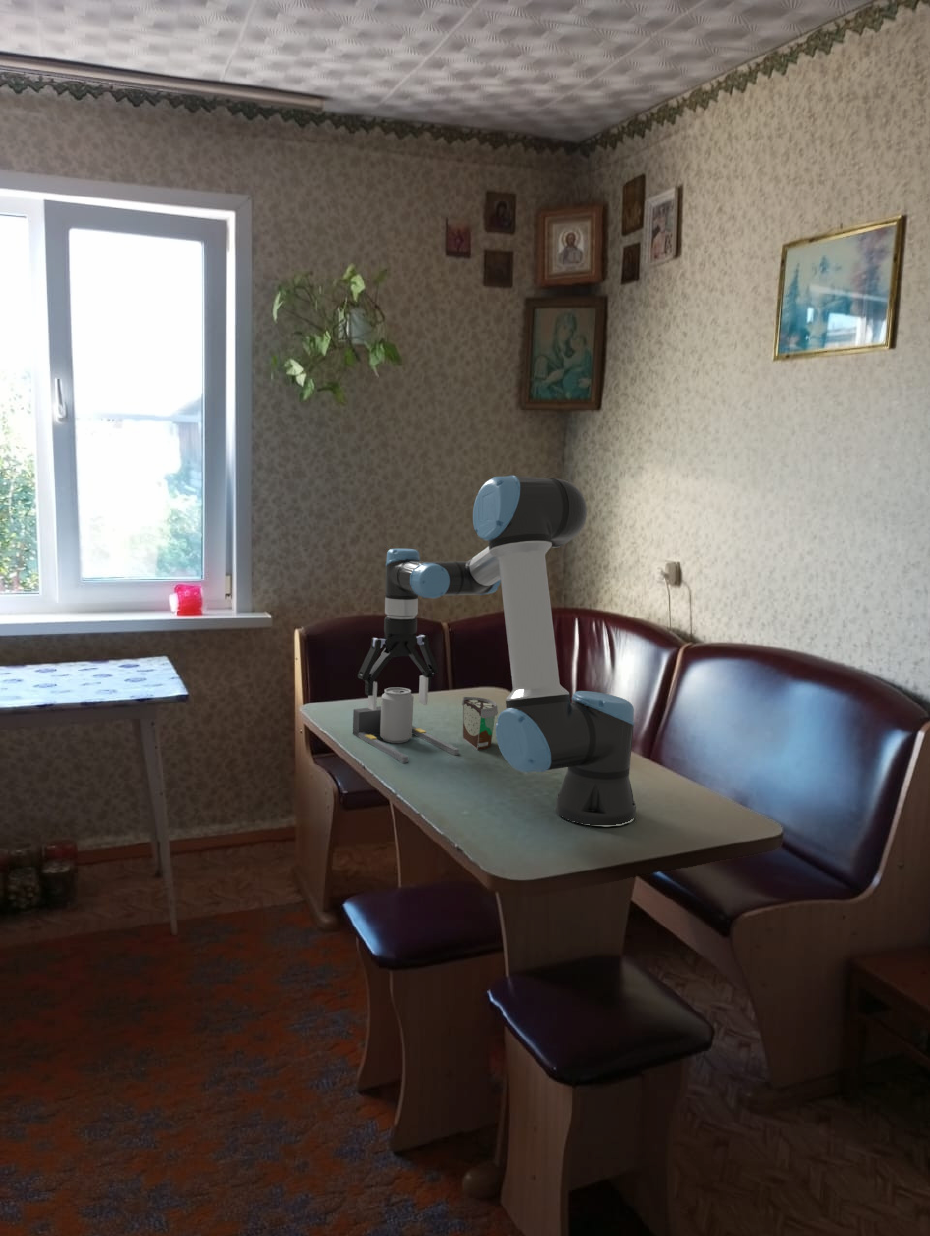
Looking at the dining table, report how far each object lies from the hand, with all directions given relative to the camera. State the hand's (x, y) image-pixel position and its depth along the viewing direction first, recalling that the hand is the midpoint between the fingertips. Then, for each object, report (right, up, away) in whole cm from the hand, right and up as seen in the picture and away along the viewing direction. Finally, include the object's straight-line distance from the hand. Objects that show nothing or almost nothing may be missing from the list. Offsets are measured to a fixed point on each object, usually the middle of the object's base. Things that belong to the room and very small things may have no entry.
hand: (397, 706), depth 223 cm
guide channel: (+2, -9, -2) cm, 9 cm away
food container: (+20, -9, +2) cm, 22 cm away
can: (-1, -8, +2) cm, 8 cm away
